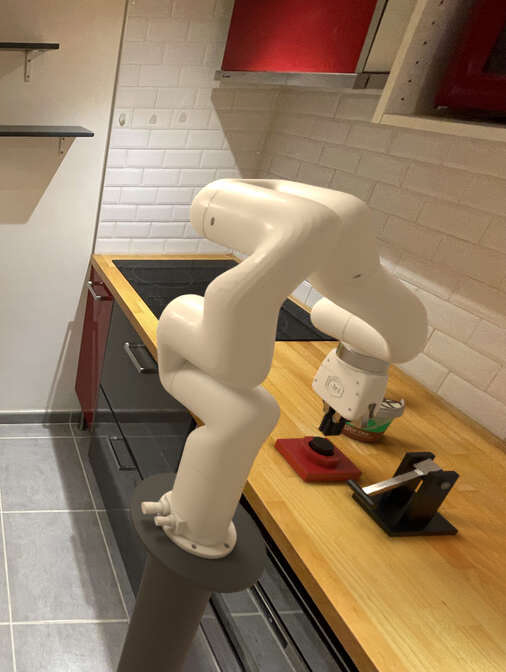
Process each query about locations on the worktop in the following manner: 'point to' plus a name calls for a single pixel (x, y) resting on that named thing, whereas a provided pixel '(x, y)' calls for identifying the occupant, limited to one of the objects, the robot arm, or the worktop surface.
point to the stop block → (316, 461)
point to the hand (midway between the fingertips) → (328, 432)
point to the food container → (376, 422)
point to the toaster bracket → (413, 502)
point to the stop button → (322, 446)
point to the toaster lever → (393, 482)
